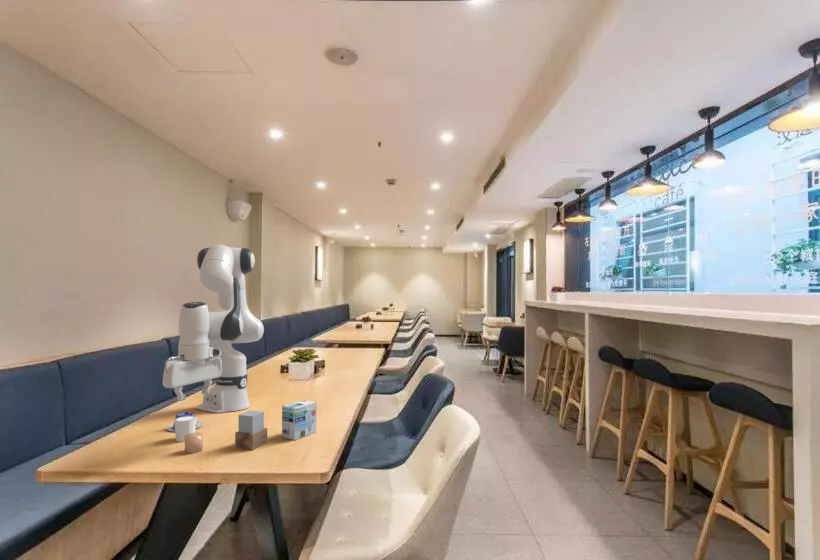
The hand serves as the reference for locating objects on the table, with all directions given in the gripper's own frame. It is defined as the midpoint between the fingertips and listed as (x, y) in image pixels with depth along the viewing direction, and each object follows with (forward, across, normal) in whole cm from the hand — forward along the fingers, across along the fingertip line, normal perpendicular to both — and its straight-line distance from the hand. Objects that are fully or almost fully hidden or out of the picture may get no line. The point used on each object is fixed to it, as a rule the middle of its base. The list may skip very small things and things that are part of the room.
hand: (193, 397), depth 136 cm
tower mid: (+12, +10, -14) cm, 21 cm away
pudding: (+17, +18, +23) cm, 34 cm away
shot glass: (+17, +8, +12) cm, 23 cm away
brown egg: (+17, 0, 0) cm, 17 cm away
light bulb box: (+17, +24, -23) cm, 37 cm away
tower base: (+17, +10, -14) cm, 24 cm away
